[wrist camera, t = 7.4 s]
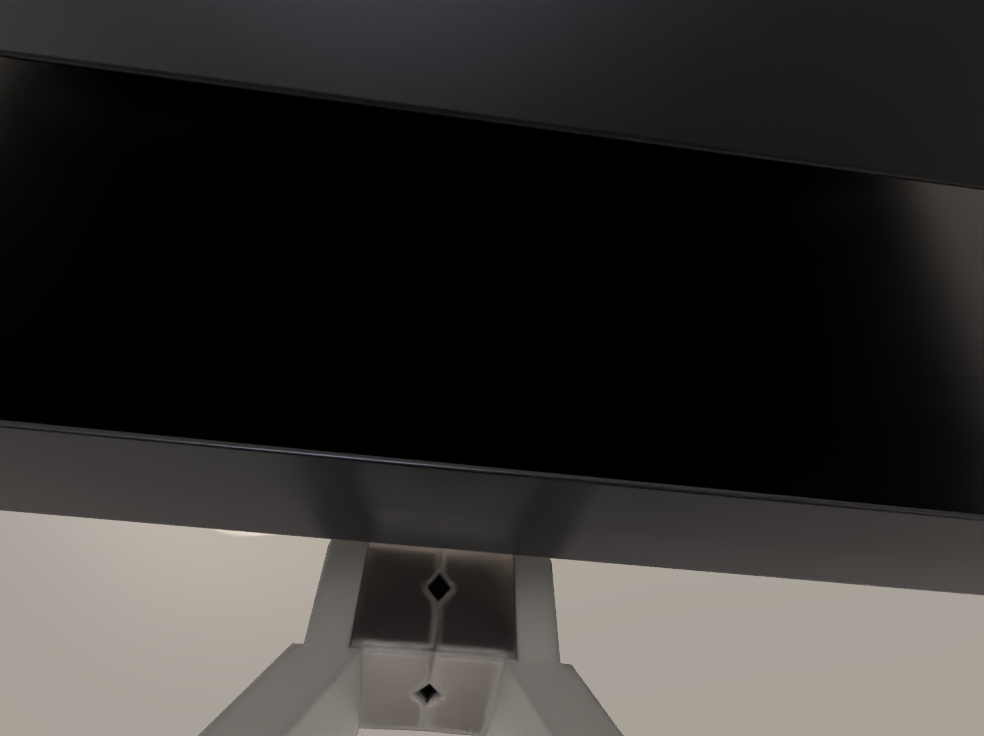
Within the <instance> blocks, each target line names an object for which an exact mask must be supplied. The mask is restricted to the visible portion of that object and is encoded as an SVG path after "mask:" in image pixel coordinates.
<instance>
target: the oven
mask: <svg viewBox="0 0 984 736" xmlns="http://www.w3.org/2000/svg"><path fill="white" fill-rule="evenodd" d="M0 57H5V58H12V59H20V60H27V61H34V62H42V63H49V64H56V65H64V66H71V67H79V68H86V69H93V70H101V71H108V72H115V73H123V74H130V75H138V76H145V77H152V78H160V79H167V80H174V81H182V82H189V83H196V84H204V85H211V86H219V87H226V88H233V89H241V90H248V91H255V92H263V93H270V94H278V95H285V96H292V97H300V98H307V99H314V100H322V101H329V102H337V103H344V104H351V105H359V106H366V107H373V108H381V109H388V110H396V111H403V112H410V113H418V114H425V115H432V116H440V117H447V118H454V119H462V120H469V121H477V122H484V123H491V124H499V125H506V126H513V127H521V128H528V129H536V130H543V131H550V132H558V133H565V134H572V135H580V136H587V137H595V138H602V139H609V140H617V141H624V142H631V143H639V144H646V145H654V146H661V147H668V148H676V149H683V150H690V151H698V152H705V153H713V154H720V155H727V156H735V157H742V158H749V159H757V160H764V161H771V162H779V163H786V164H794V165H801V166H808V167H816V168H823V169H830V170H838V171H845V172H853V173H860V174H867V175H875V176H882V177H889V178H897V179H904V180H912V181H919V182H926V183H934V184H941V185H948V186H956V187H963V188H971V189H978V190H984V0H0Z"/></svg>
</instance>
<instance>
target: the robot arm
mask: <svg viewBox="0 0 984 736" xmlns="http://www.w3.org/2000/svg"><path fill="white" fill-rule="evenodd" d="M359 728H365V729H366V728H367V729H390V730H391V729H392V730H416V731H431V732H440V733H451V734H462V735H472V736H623V735H622V733H621V732H620V731H619V729H618V728H617V726H616V725H615V724H614V722H613V721H612V720H611V718H610V717H609V716H608V714H607V713H606V711H605V710H604V709H603V708H602V706H601V705H600V703H599V702H598V700H597V699H596V698H595V696H594V695H593V694H592V692H591V691H590V689H589V688H588V687H587V685H586V684H585V683H584V681H583V680H582V678H581V677H580V676H579V674H578V673H577V672H576V670H575V669H574V668H573V666H572V665H569V664H561V663H560V654H559V643H558V632H557V620H556V609H555V598H554V586H553V575H552V563H551V560H550V558H545V557H534V556H522V555H511V554H499V553H487V552H476V551H464V550H453V549H441V548H430V547H418V546H407V545H395V544H383V543H372V542H360V541H349V540H337V539H331V541H330V543H329V545H328V549H327V553H326V557H325V561H324V565H323V569H322V573H321V577H320V581H319V585H318V589H317V593H316V597H315V601H314V605H313V609H312V613H311V617H310V621H309V625H308V629H307V633H306V637H305V641H304V644H295V643H292V644H291V645H290V646H289V647H288V648H287V649H286V650H285V651H284V652H283V653H282V654H281V655H280V656H279V657H278V658H277V659H276V660H275V661H274V662H273V663H272V664H271V665H270V666H269V667H268V668H267V669H266V670H265V671H264V672H262V673H261V675H259V676H258V677H257V678H256V679H255V680H254V681H253V682H252V683H251V684H250V685H249V686H248V687H247V688H246V689H245V690H244V691H243V692H242V693H241V694H240V695H239V696H238V697H237V698H236V699H235V700H234V701H233V702H232V703H231V704H230V705H229V706H228V707H227V708H226V709H225V710H224V711H223V712H222V713H221V714H220V715H219V716H218V717H217V718H216V719H215V720H214V721H213V722H211V723H210V725H208V726H207V728H205V729H204V730H203V731H202V732H201V733H200V734H199V735H198V736H356V735H357V734H358V730H359Z"/></svg>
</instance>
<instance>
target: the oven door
mask: <svg viewBox="0 0 984 736" xmlns="http://www.w3.org/2000/svg"><path fill="white" fill-rule="evenodd" d="M0 510H2V511H15V512H25V513H37V514H48V515H60V516H72V517H83V518H95V519H106V520H118V521H129V522H141V523H153V524H164V525H175V526H188V527H198V528H210V529H222V530H233V531H245V532H256V533H268V534H279V535H291V536H302V537H314V538H326V539H337V540H349V541H360V542H372V543H383V544H395V545H407V546H418V547H430V548H441V549H453V550H464V551H476V552H487V553H499V554H511V555H522V556H534V557H545V558H557V559H569V560H580V561H592V562H603V563H615V564H626V565H638V566H650V567H661V568H672V569H684V570H696V571H707V572H719V573H730V574H742V575H754V576H765V577H776V578H788V579H800V580H811V581H823V582H834V583H846V584H858V585H870V586H880V587H892V588H904V589H916V590H927V591H939V592H951V593H961V594H973V595H984V190H978V189H971V188H963V187H956V186H948V185H941V184H934V183H926V182H919V181H912V180H904V179H897V178H889V177H882V176H875V175H867V174H860V173H853V172H845V171H838V170H830V169H823V168H816V167H808V166H801V165H794V164H786V163H779V162H771V161H764V160H757V159H749V158H742V157H735V156H727V155H720V154H713V153H705V152H698V151H690V150H683V149H676V148H668V147H661V146H654V145H646V144H639V143H631V142H624V141H617V140H609V139H602V138H595V137H587V136H580V135H572V134H565V133H558V132H550V131H543V130H536V129H528V128H521V127H513V126H506V125H499V124H491V123H484V122H477V121H469V120H462V119H454V118H447V117H440V116H432V115H425V114H418V113H410V112H403V111H396V110H388V109H381V108H373V107H366V106H359V105H351V104H344V103H337V102H329V101H322V100H314V99H307V98H300V97H292V96H285V95H278V94H270V93H263V92H255V91H248V90H241V89H233V88H226V87H219V86H211V85H204V84H196V83H189V82H182V81H174V80H167V79H160V78H152V77H145V76H138V75H130V74H123V73H115V72H108V71H101V70H93V69H86V68H79V67H71V66H64V65H56V64H49V63H42V62H34V61H27V60H20V59H12V58H5V57H0Z"/></svg>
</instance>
